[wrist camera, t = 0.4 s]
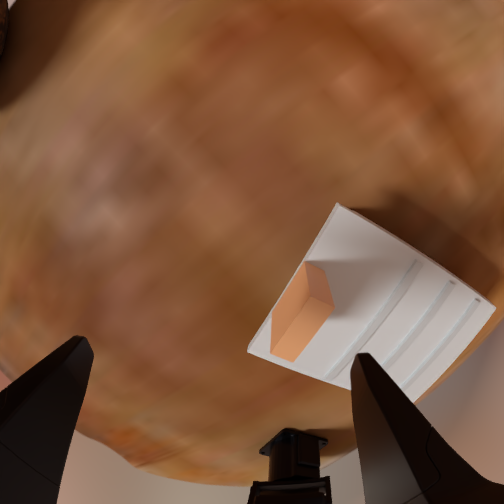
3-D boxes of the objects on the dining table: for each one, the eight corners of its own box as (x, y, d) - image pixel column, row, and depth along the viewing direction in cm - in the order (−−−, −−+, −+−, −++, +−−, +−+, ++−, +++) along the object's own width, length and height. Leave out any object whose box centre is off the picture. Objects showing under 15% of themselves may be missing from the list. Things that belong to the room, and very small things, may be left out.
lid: (405, 397, 24) (420, 440, 19) (247, 340, 22) (239, 393, 17) (489, 300, 19) (522, 337, 14) (334, 199, 17) (354, 227, 13)
